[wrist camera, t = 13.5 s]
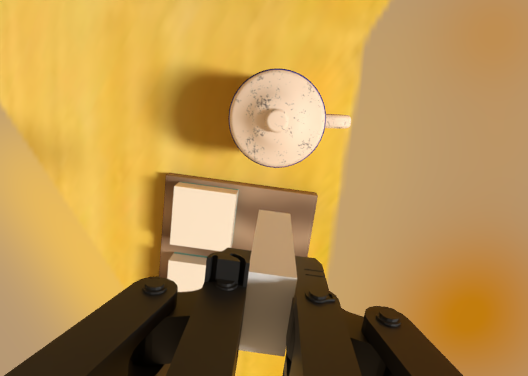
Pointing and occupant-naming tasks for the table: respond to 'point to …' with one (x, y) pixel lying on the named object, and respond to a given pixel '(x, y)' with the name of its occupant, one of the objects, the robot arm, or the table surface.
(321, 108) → the teacup with lid
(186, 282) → the tile
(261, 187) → the walnut board
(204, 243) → the tile
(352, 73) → the table surface
